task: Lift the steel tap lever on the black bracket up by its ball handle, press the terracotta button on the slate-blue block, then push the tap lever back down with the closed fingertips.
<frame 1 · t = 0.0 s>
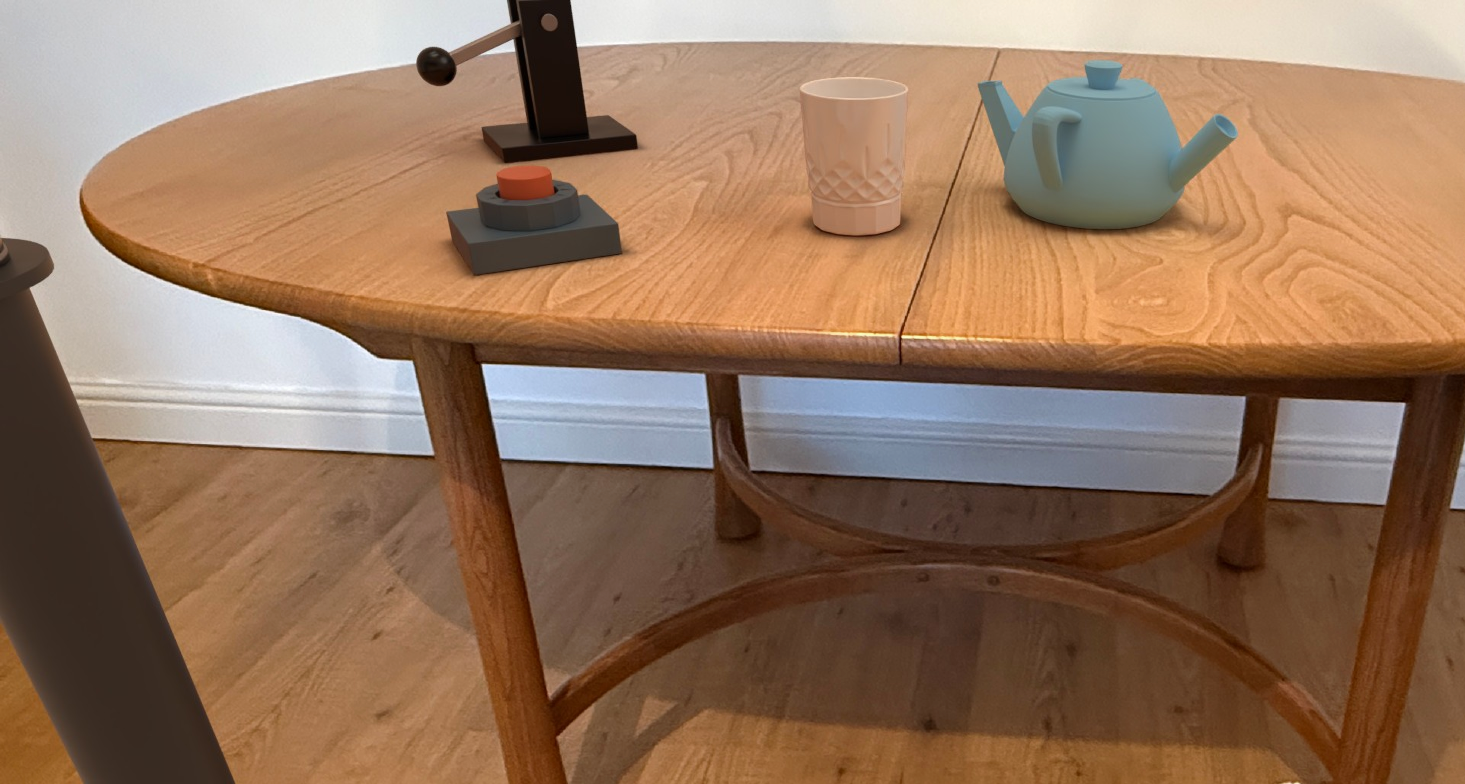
button: (525, 184, 79), point 4 cm above the table, slide at 0.1 cm
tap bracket: (560, 144, 107), on the table
button block: (536, 247, 81), on the table
teapot: (1094, 210, 93), on the table
peach cup: (857, 225, 88), on the table
tap lever: (488, 42, 100), point 9 cm above the table, hinge at -20.0°
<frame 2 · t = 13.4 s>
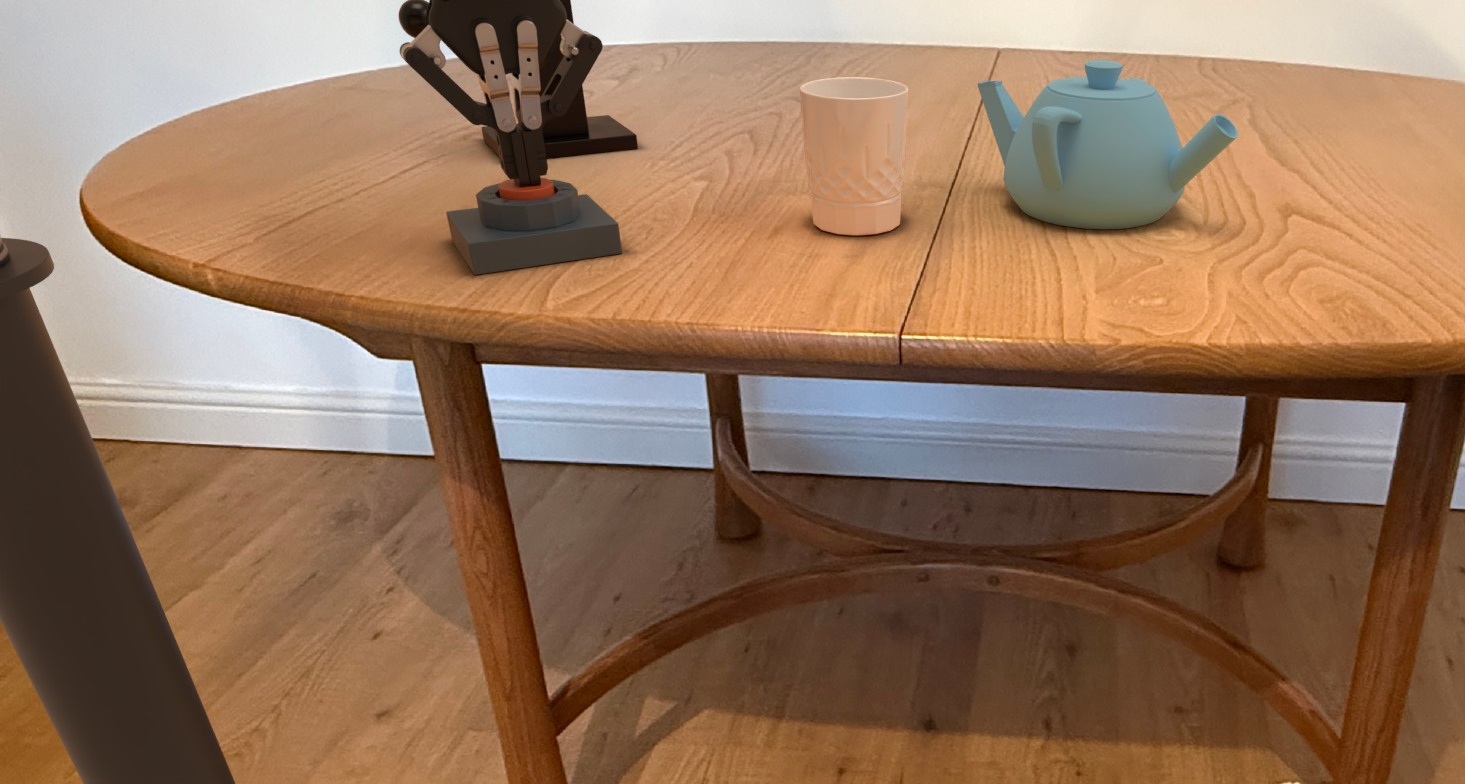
hand: (526, 183, 79), 5 cm above the table, tool pointing down, fingers closed
button: (527, 196, 79), point 4 cm above the table, slide at -0.7 cm, touching gripper
tap lever: (480, 18, 98), point 11 cm above the table, hinge at 2.3°
everything else where it was.
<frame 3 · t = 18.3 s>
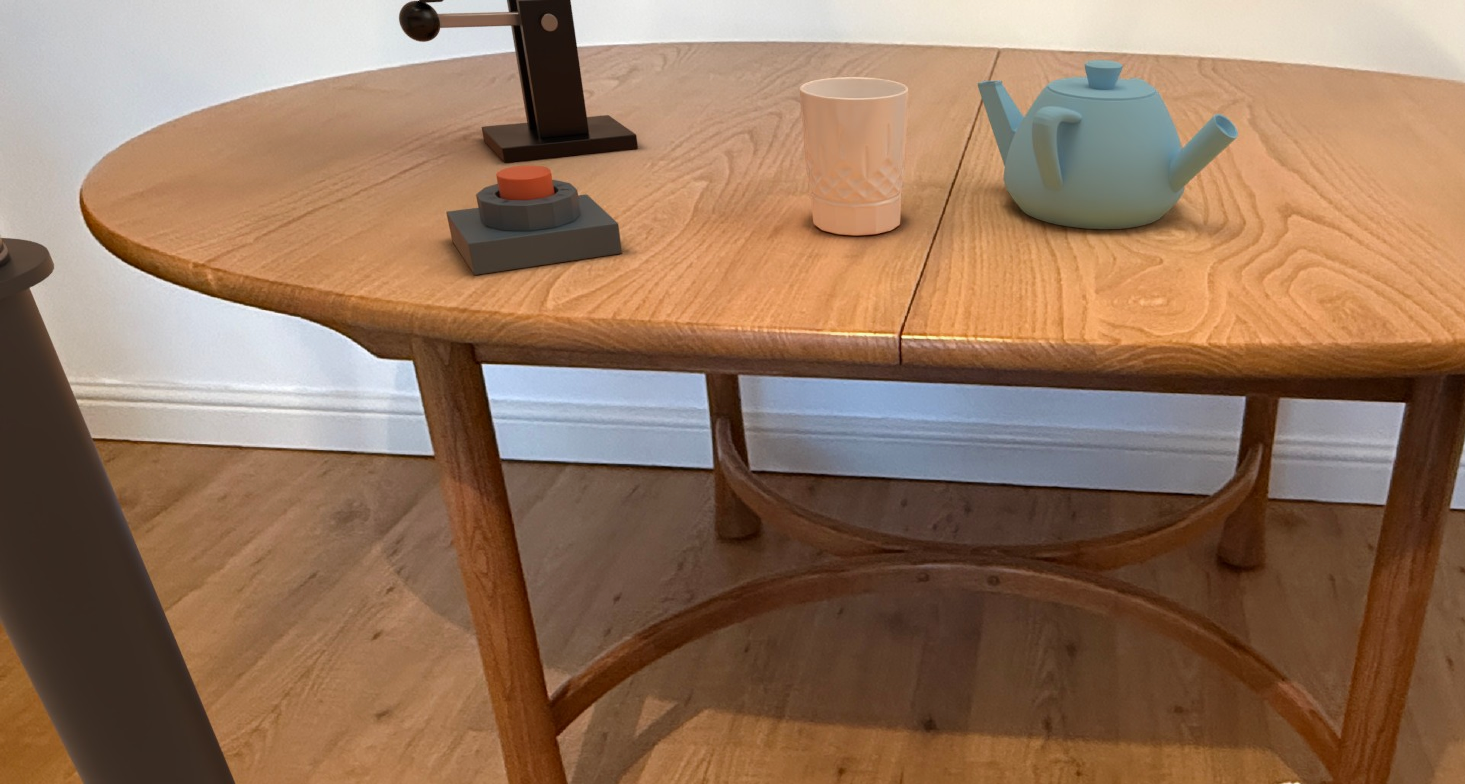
hand: (430, 1, 96), 13 cm above the table, tool pointing down, fingers closed
button: (525, 184, 79), point 4 cm above the table, slide at 0.1 cm
tap lever: (480, 19, 99), point 11 cm above the table, hinge at 1.3°, touching gripper
everything else where it was.
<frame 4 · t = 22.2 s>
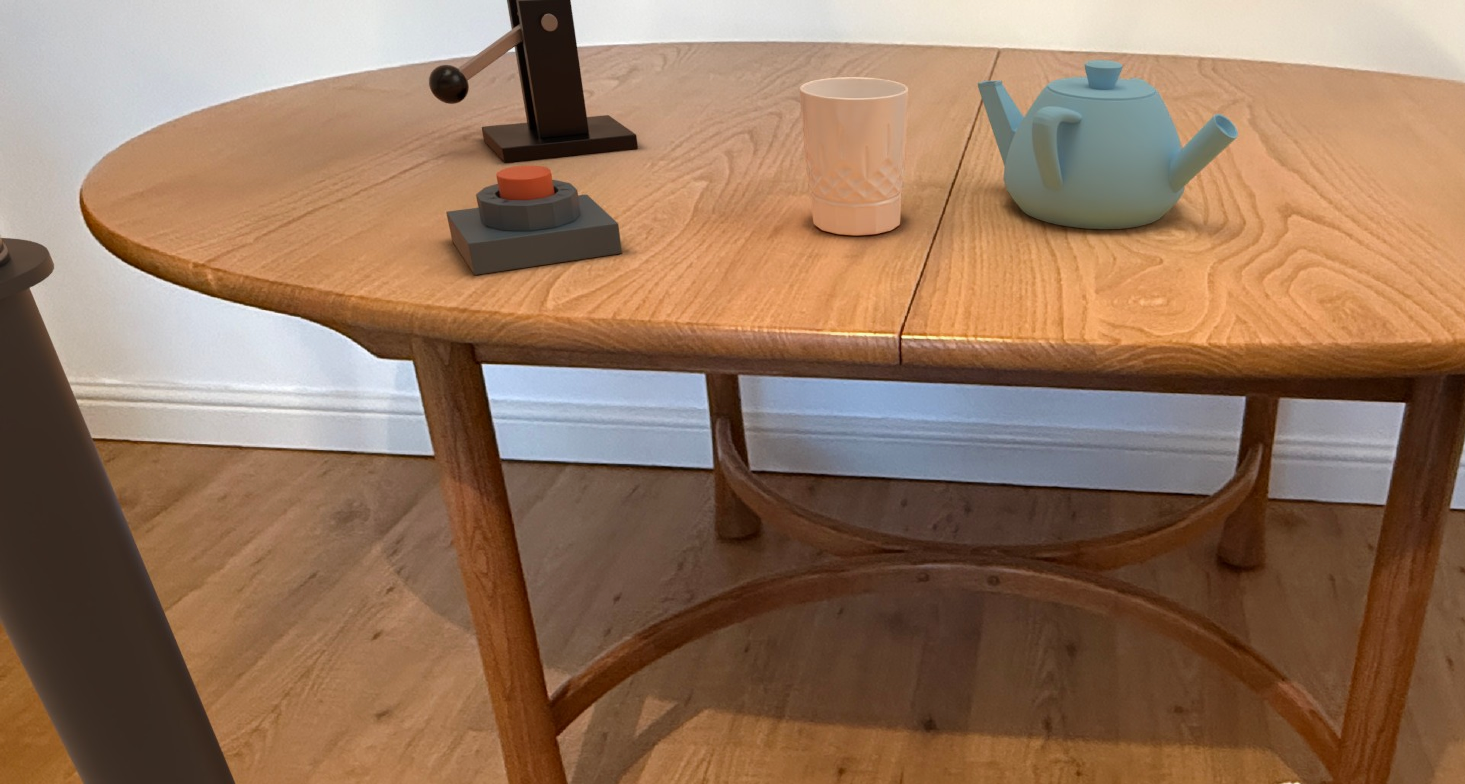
tap lever: (494, 51, 100), point 8 cm above the table, hinge at -29.7°
everything else where it was.
at the end: tap lever reached +22° during the clip, -30° at the end; button pushed in 1.1 cm at the most during the clip, back to where it started at the end; tap lever at -30° (first picture: -20°) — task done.
